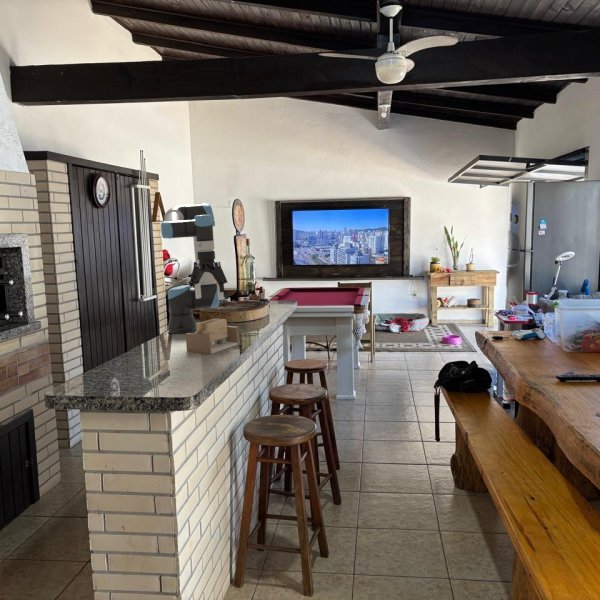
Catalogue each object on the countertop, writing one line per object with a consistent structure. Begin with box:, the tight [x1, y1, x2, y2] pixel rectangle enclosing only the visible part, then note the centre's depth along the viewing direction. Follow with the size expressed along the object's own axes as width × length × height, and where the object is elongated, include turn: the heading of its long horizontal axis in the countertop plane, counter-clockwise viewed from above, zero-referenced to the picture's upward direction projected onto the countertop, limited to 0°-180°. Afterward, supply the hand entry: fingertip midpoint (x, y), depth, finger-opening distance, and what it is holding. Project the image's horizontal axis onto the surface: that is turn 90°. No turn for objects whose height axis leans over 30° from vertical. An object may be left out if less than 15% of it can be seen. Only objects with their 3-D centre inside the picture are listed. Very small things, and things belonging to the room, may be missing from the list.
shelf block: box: [195, 318, 228, 342], centre depth 252 cm, size 7×12×8 cm, turn 145°
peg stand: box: [185, 325, 240, 355], centre depth 252 cm, size 13×20×8 cm, turn 145°
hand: (209, 299), depth 250 cm, fingers open, 13 cm apart
